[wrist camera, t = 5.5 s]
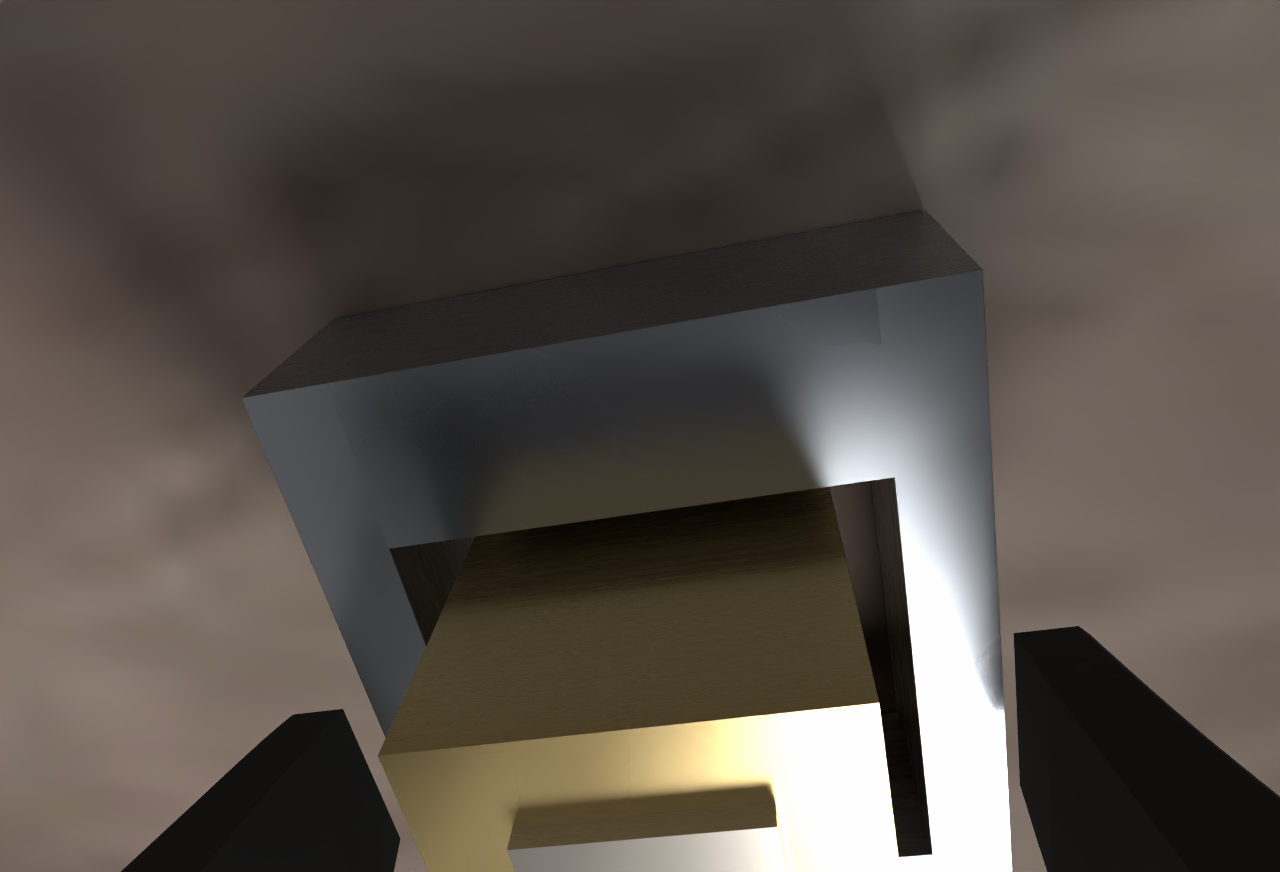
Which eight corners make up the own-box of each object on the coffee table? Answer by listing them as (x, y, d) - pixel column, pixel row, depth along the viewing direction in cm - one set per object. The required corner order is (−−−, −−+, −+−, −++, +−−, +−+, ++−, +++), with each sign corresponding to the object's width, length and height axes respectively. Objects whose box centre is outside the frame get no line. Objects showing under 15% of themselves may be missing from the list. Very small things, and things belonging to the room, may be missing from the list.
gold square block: (849, 672, 13) (926, 1063, 8) (576, 703, 14) (502, 1081, 9) (813, 420, 11) (884, 728, 7) (505, 468, 12) (366, 780, 7)
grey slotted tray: (991, 1111, 17) (1031, 1273, 15) (626, 1124, 18) (614, 1276, 16) (926, 209, 10) (981, 269, 8) (334, 318, 11) (240, 399, 9)
